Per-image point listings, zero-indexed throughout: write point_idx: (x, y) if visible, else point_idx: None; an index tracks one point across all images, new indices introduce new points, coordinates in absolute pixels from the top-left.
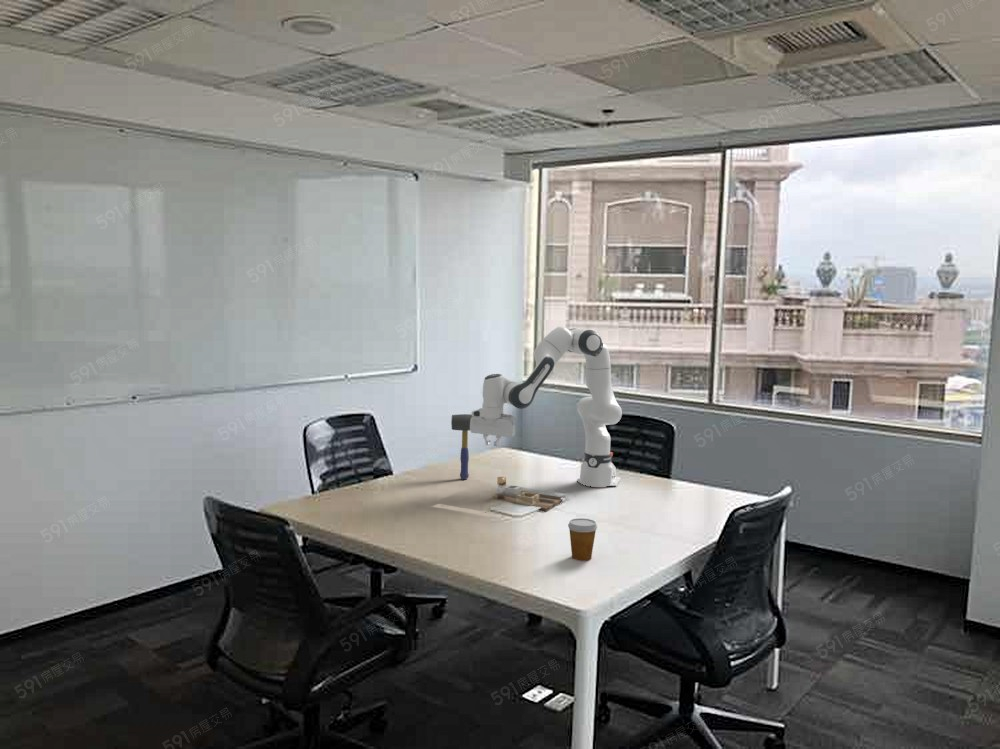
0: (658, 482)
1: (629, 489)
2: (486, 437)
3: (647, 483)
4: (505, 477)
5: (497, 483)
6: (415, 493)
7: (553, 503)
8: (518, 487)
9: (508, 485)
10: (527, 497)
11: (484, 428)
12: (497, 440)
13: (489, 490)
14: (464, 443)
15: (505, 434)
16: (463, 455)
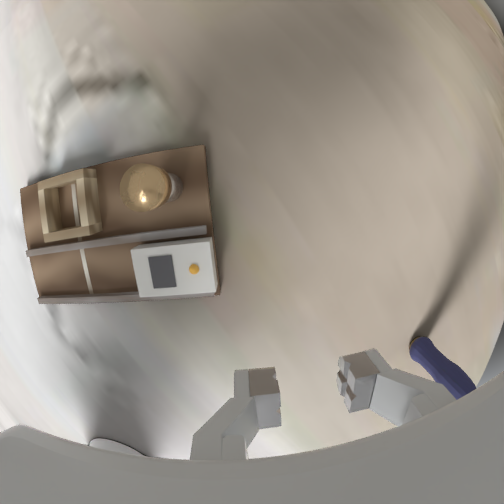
0: None
1: None
2: (404, 408)
3: None
4: (129, 205)
5: (163, 169)
6: (446, 126)
7: (28, 244)
8: (141, 281)
9: (190, 284)
10: (49, 178)
11: (496, 457)
12: (223, 413)
13: (296, 293)
14: None
15: (49, 456)
16: (458, 374)
